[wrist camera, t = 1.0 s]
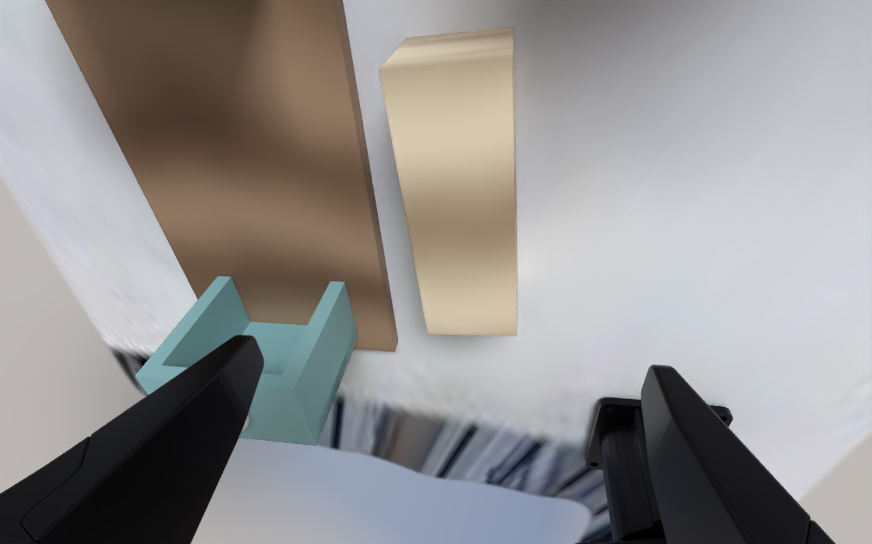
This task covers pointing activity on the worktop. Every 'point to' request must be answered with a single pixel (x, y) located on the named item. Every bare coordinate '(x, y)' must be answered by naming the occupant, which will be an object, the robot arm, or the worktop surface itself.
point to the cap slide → (267, 359)
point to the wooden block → (458, 175)
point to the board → (244, 145)
